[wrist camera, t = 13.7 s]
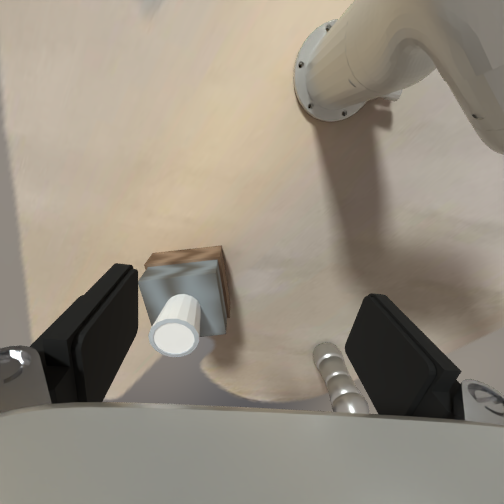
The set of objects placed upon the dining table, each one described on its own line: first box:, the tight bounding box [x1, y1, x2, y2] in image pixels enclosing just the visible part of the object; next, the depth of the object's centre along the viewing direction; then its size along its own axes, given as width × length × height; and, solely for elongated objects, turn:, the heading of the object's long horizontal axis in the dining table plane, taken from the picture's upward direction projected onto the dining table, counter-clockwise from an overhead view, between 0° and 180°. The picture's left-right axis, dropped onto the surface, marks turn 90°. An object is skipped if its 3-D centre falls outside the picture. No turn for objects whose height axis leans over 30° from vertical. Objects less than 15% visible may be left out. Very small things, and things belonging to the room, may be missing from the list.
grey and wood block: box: [138, 246, 230, 337], centre depth 46 cm, size 13×13×10 cm
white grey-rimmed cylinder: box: [149, 294, 201, 357], centre depth 38 cm, size 7×7×7 cm
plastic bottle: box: [313, 343, 369, 414], centre depth 51 cm, size 6×7×20 cm
